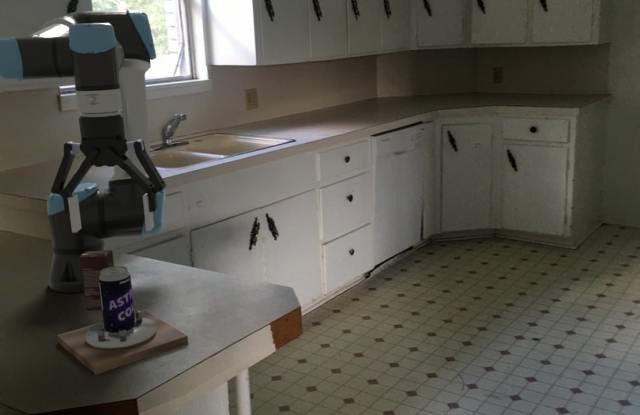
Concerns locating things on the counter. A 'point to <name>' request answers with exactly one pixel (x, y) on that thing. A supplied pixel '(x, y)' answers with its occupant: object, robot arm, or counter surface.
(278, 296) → the counter surface
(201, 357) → the counter surface
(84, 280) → the box
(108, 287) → the beverage can
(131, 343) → the flange
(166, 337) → the base plate
